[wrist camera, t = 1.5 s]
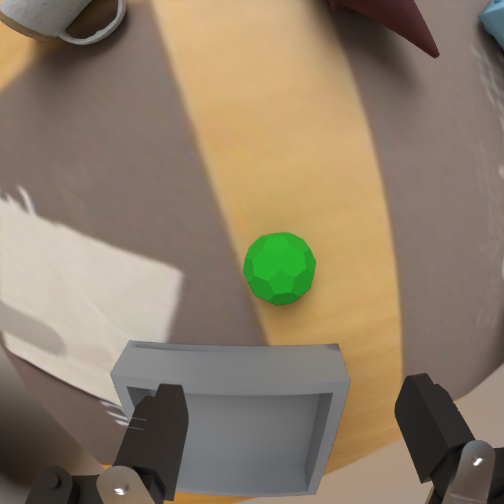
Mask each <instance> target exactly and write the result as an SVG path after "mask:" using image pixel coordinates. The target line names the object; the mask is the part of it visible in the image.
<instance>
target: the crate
mask: <svg viewBox="0 0 504 504" xmlns="http://www.w3.org/2000/svg"><path fill="white" fill-rule="evenodd" d="M110 375H111V378H112V381H113V384H114V386H115V389H116V391H117V394H118V397H119V399H120V402H121V404H122V407H123V409H124V412H125V414H126V416H127V419H128V421H129V423H130V420H131V419H132V415H133V412H134V410H135V407H136V405H137V404H138V403H139V402H140V401H141V400H142V399H143V398H144V397H145V396H153V397H155V395H156V392H157V389H158V386H159V384H160V383H166V384H178V385H182V387H183V390H184V395H185V400H186V404H187V409H188V414H189V424H188V431H187V435H186V440H185V445H184V450H183V455H182V460H181V465H180V470H179V475H178V480H177V485H176V490H175V491H179V492H187V493H196V494H206V495H218V496H237V497H282V496H300V495H312V494H313V495H314V494H316V492H317V489H318V487H319V484H320V481H321V478H322V476H323V473H324V470H325V467H326V464H327V461H328V458H329V455H330V452H331V449H332V446H333V442H334V439H335V436H336V432H337V429H338V426H339V422H340V419H341V415H342V411H343V408H344V404H345V400H346V396H347V392H348V388H349V384H350V378H349V375H348V372H347V369H346V366H345V363H344V360H343V357H342V354H341V351H340V348H339V346H338V344H324V345H298V346H214V345H188V344H170V343H155V342H142V341H131V340H129V342H128V344H127V345H126V347H125V349H124V350H123V352H122V354H121V356H120V357H119V359H118V361H117V363H116V364H115V366H114V368H113V370H112V371H111V373H110Z"/></svg>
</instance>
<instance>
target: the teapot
mask: <svg viewBox="0 0 504 504" xmlns="http://www.w3.org/2000/svg"><path fill="white" fill-rule="evenodd" d="M478 18H479V19H480V20H481V21H482V23H483V27H484V29H485V30H486V32H487V33H488V34H490V35H493V36H494V38H495V39H496V40H497V42H498V43H499V44H500V46H501V47H502V48H503V50H504V0H491V1H490V2H489V3H488V4H487V6H486V7H485V8H484V9H483V11H482V12H481V13H480V14H479V16H478Z"/></svg>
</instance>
